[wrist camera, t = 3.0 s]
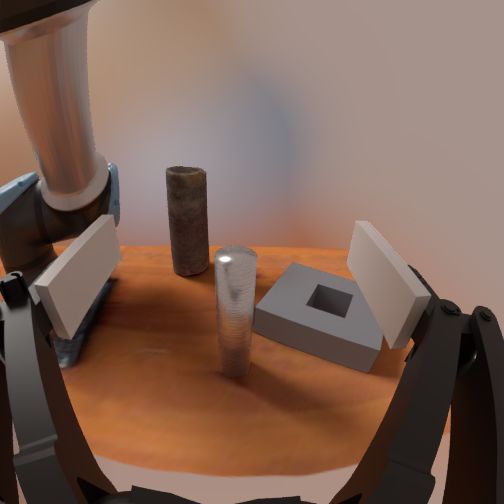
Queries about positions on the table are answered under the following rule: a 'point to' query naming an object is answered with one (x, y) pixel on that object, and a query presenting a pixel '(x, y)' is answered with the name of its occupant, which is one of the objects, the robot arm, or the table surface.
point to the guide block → (320, 317)
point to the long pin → (235, 307)
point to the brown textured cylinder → (188, 219)
